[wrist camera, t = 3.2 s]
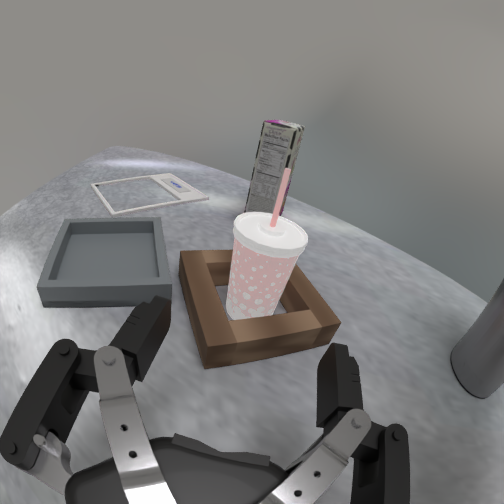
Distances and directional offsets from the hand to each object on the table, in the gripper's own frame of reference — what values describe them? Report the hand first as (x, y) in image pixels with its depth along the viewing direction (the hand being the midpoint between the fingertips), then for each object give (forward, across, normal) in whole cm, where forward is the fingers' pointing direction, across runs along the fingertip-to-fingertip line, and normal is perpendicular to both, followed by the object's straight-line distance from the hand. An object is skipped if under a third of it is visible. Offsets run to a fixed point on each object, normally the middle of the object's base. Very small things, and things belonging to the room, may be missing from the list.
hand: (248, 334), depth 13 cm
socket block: (+11, 0, +8) cm, 14 cm away
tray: (+11, +16, +8) cm, 21 cm away
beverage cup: (+11, 0, +9) cm, 14 cm away
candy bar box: (+33, +1, +9) cm, 34 cm away
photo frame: (+32, +23, +9) cm, 41 cm away
